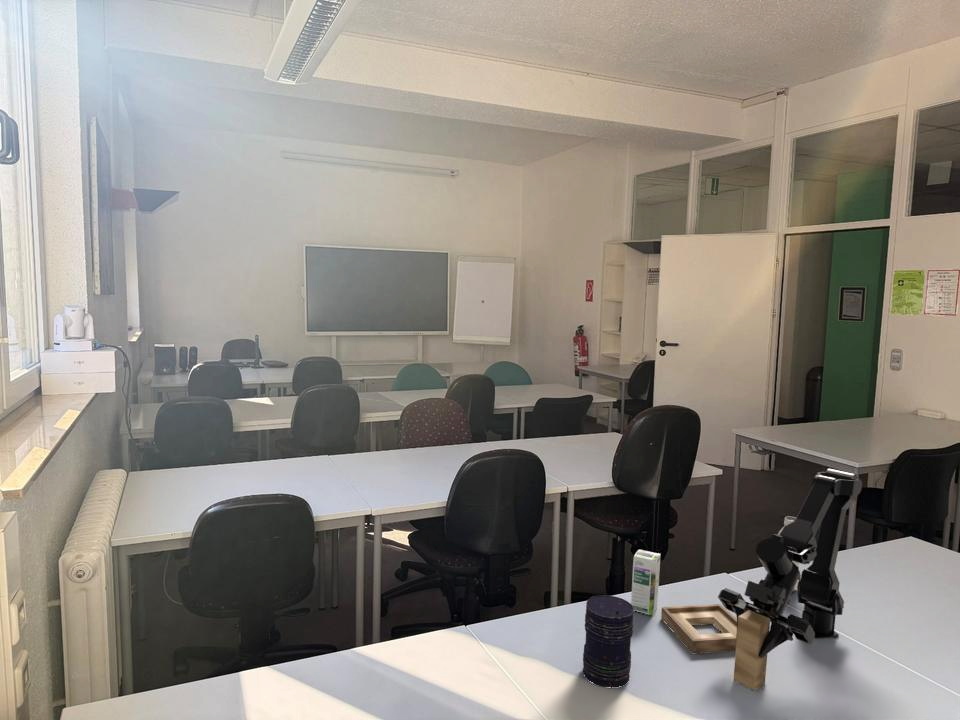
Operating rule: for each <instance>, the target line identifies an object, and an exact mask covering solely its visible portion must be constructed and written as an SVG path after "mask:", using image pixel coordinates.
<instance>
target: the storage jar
mask: <svg viewBox="0 0 960 720" xmlns="http://www.w3.org/2000/svg"><path fill="white" fill-rule="evenodd" d="M585 606H586V607H585V615H584V630H585V643H584V645H583V655H582V663H583V664H582V665H583V666H582V675H583V674H584V675H585V677H586V678H587V679H588V680H589V681H591V682H593V683H594V684H596V685H595V686H597V685H599V686H598V687H600V686H602V687H601V688H603V687H611V688H610V689H613V688H612V687H619V686H623V685H625V684H626V683H627V682H628V681H630V679H631V675H630V673H631V667H632V653H631V652H632V651H631V643H632V642H631V639H632V637H633V635H634V634H633V633H634V630H633V629H634V612H635V611H634V608H633V606H632V605H631V602H629V601H627V600H626V599H623V598H622V597H617V596H616V595H615V596H614V595H607V594H605V595H604V594H603V595H602V594H601V595H593V596H591V597H589V598H588V599H587V600H586V605H585ZM584 675H583V676H584ZM585 677H584V678H585ZM586 678H585V679H586ZM629 678H630V679H629ZM587 679H586V680H587ZM588 680H587V681H588ZM589 681H588V682H589ZM591 682H590V683H591ZM628 683H629V682H628ZM628 683H627V684H628ZM594 684H593V685H594ZM627 684H626V685H627ZM626 685H625V686H626ZM623 687H624V686H623Z"/></svg>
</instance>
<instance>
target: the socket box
mask: <svg viewBox="0 0 960 720" xmlns="http://www.w3.org/2000/svg"><path fill="white" fill-rule="evenodd" d="M660 614H661V615H660V616H661V617H660V619H661V618H662V619H663V620H664V621H665V622H666V623H667V625H668V626H669V627H670V628H671V629H672V630H673V631H674V633H675V634H676V635H677V636H678V637H679V638H678V637H677V636H676V635H675V634H674V633H673V634H674V635H675V636H676V637H677V638H678V639H680V640H681V641H682V642H683V643H684V644H685V645H686V646H687V647H686V646H685V645H684V644H683V643H682V642H681V643H682V644H683V645H684V646H685V647H686V648H687V650H688V649H689V650H690V651H691V652H692V653H697V654H706V653H705V652H712V653H723V652H722V651H727V652H736V634H737V617H735V616H734V615H733V614H732V612H730V611H729V610H727V609H726V608H725V607H724V606H723V604H722V603H718V604H714V603H713V604H701V605H700V604H699V605H698V604H697V605H679V606H663V607H661V612H660ZM662 619H661V620H662ZM663 620H662V621H663ZM701 624H702V625H701ZM703 624H714V625H715V626H716V627H717V628H718V629H719V630H718V629H717V628H716V627H715V626H714V625H713V626H714V627H715V628H716V629H717V630H718V631H719V632H720V631H721V632H722V633H721V632H720V633H707V634H701V633H700V632H698V631H697V629H696V628H695V627H694V626H692V625H699V626H704V625H703ZM667 625H666V626H667ZM668 626H667V627H668ZM669 627H668V628H669ZM670 628H669V629H670ZM671 629H670V630H671ZM680 640H679V641H680ZM689 650H688V651H689ZM690 651H689V652H690ZM691 652H690V653H691ZM701 652H702V653H701ZM692 653H691V654H692Z"/></svg>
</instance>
